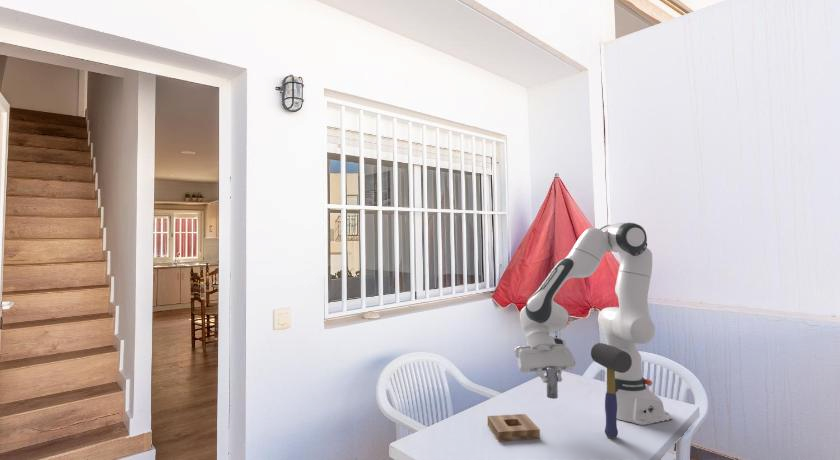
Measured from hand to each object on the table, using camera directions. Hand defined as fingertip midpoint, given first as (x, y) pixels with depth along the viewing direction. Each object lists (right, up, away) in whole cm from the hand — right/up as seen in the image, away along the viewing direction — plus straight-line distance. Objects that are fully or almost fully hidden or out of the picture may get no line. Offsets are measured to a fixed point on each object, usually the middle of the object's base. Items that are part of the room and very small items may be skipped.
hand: (552, 381), depth 140 cm
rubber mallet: (+18, -17, -5) cm, 25 cm away
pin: (0, -5, +1) cm, 5 cm away
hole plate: (-14, -16, -2) cm, 22 cm away
